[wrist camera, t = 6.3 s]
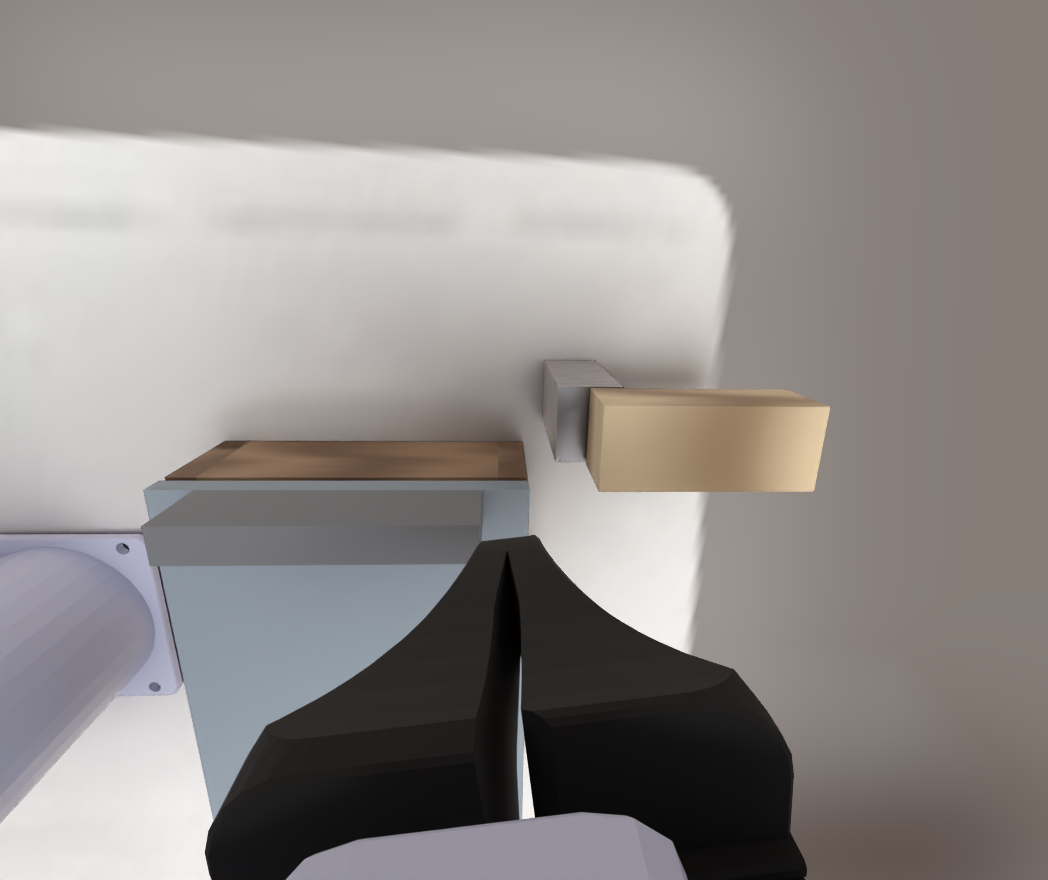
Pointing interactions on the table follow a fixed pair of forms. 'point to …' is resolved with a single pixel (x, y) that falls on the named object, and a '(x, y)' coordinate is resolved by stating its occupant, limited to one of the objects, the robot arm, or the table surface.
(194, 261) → the table surface
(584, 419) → the block
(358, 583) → the lid
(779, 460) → the tan wooden block
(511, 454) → the brown wooden shallow box
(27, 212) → the table surface
